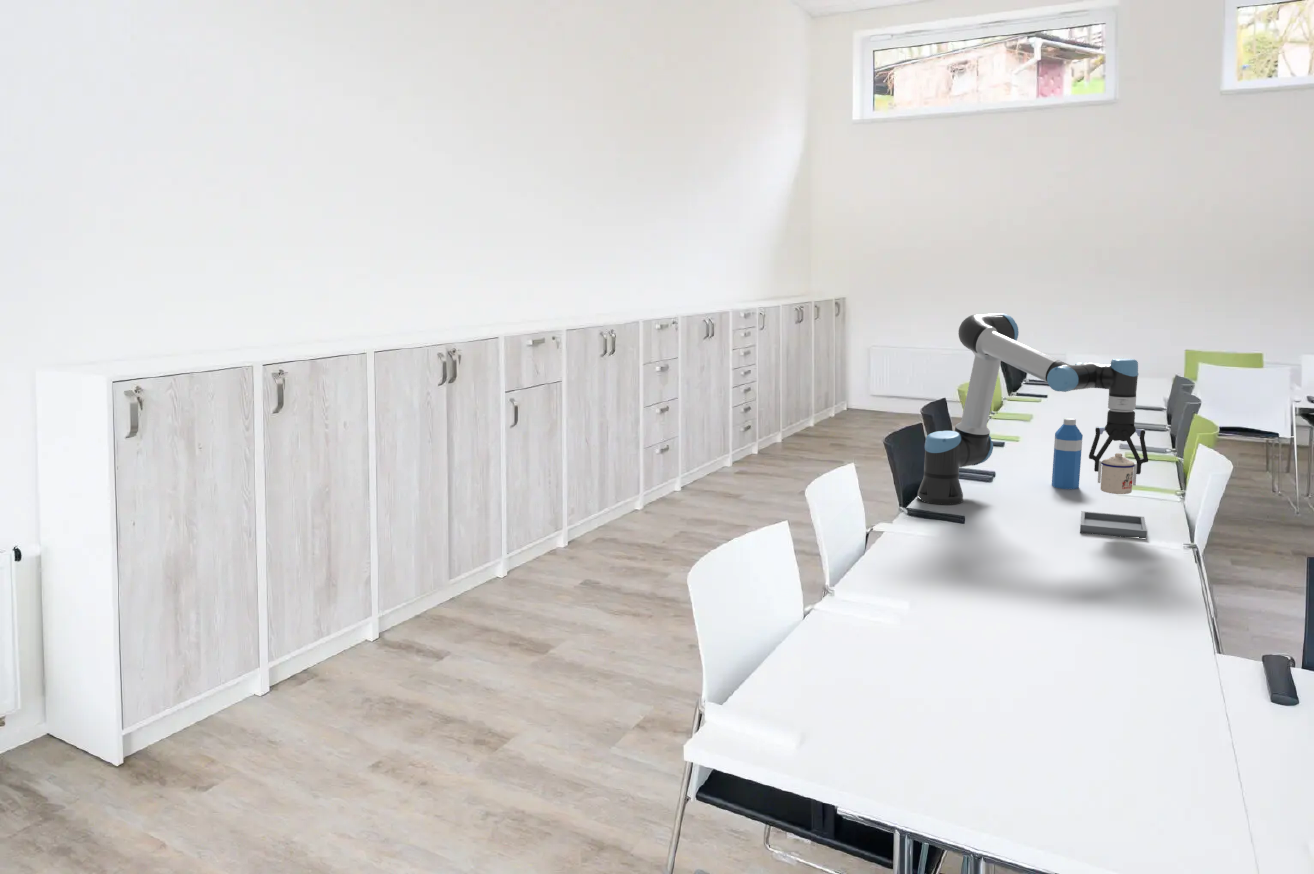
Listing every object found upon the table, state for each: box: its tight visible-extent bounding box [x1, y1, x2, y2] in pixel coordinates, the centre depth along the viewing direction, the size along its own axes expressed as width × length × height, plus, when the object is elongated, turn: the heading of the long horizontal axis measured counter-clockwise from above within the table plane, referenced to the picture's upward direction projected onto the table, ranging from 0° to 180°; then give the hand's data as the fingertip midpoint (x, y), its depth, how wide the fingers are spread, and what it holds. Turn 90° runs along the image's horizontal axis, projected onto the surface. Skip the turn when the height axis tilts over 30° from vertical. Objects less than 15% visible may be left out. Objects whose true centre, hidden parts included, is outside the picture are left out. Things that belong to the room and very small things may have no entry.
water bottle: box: [1051, 417, 1083, 490], centre depth 356 cm, size 9×9×25 cm
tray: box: [1079, 510, 1148, 539], centre depth 301 cm, size 18×18×3 cm
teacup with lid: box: [1100, 452, 1135, 495], centre depth 298 cm, size 12×9×12 cm
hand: (1116, 483), depth 298 cm, fingers closed on teacup with lid, 9 cm apart
